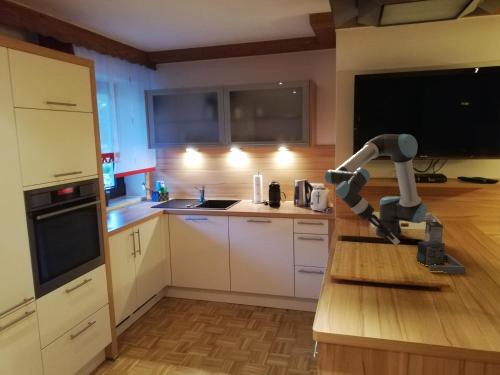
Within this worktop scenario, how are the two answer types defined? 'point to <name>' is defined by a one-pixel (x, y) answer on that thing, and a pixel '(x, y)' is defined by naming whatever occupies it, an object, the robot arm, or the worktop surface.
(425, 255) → the small box
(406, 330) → the worktop surface
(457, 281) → the worktop surface
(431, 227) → the coffee box
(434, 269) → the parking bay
